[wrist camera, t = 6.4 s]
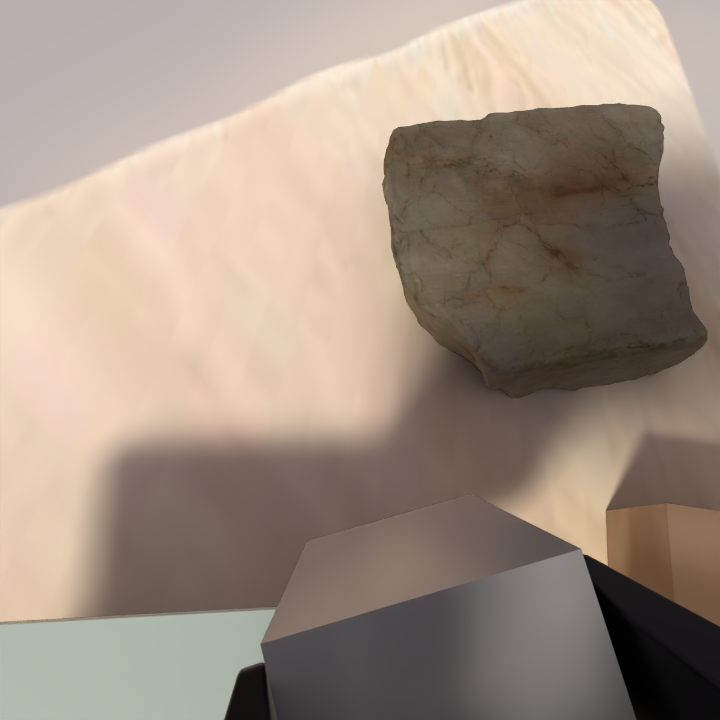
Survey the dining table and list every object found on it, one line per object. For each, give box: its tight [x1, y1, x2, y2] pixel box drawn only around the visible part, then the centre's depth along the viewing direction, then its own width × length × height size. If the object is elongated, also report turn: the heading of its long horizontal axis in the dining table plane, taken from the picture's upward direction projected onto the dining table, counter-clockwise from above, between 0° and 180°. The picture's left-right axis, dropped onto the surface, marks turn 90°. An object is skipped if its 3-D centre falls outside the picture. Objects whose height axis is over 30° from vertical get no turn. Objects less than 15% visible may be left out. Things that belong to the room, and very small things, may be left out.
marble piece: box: [382, 103, 707, 398], centre depth 26 cm, size 17×15×4 cm
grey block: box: [260, 494, 636, 720], centre depth 11 cm, size 5×5×8 cm
